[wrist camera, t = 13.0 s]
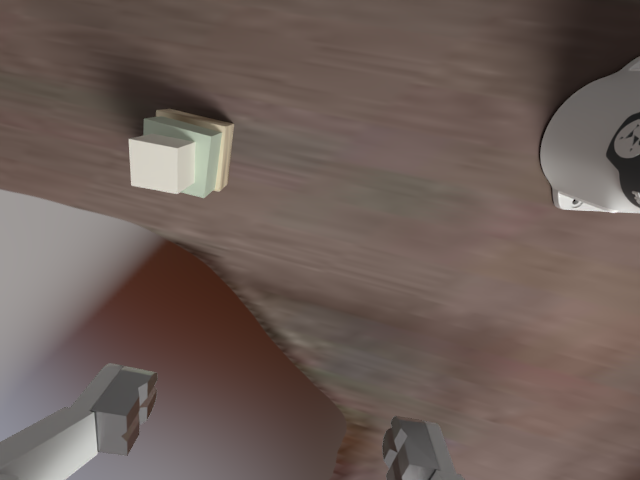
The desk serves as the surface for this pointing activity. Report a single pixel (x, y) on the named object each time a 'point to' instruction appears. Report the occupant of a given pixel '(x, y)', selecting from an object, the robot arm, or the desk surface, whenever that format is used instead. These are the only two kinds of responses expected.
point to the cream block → (162, 163)
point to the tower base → (213, 125)
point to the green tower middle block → (204, 149)
